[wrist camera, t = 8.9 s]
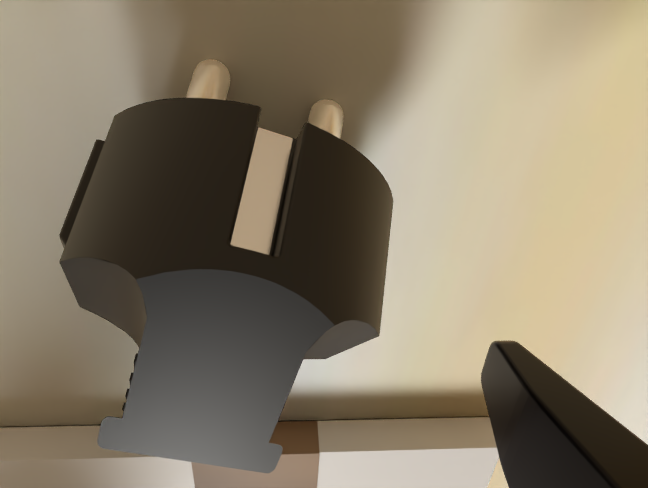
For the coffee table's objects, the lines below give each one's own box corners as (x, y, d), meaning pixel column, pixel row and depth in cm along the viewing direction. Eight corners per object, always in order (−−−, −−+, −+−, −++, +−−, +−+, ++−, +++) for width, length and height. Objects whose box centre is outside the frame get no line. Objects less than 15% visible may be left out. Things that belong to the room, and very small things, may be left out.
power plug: (68, 434, 16) (-86, 426, 5) (140, 214, 19) (140, -88, 8) (249, 462, 17) (435, 504, 6) (288, 253, 20) (459, 41, 9)
